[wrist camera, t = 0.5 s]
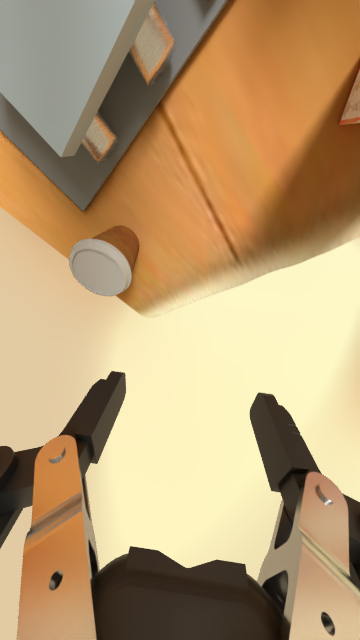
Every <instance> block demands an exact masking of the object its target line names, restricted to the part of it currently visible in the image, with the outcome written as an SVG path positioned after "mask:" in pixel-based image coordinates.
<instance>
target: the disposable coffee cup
mask: <svg viewBox="0 0 360 640" xmlns="http://www.w3.org/2000/svg"><path fill="white" fill-rule="evenodd" d="M138 251H139V241H138V238H137V236H136V235H135V234H134V232H133V231H131V230H130V229H129V228H127V227H124V226H115V227H113V228H111V229H109V230H107V231H105V232H103V233H101V234H99V235H97V236H95V237H93V238H91V239H84V240H81V241H79V242H77V243H76V244H75V245H74V246H73V247H72V250H71V253H70V258H69V265H70V269H71V271H72V273H73V275H74V277H75V278H76V279H77V280H78V282H79V283H80V284H81V285H83V286H84V287H85V288H86V289H88V290H90V291H91V292H93V293H96V294H98V295H103V296H114V295H118V294H119V293H121V292H123V291H125V290H126V289H127V288H128V287H129V285H130V283H131V278H132V275H131V272H132V269H133V266H134V263H135V260H136V257H137V254H138Z"/></svg>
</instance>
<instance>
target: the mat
mask: <svg viewBox="0 0 360 640" xmlns="http://www.w3.org/2000/svg"><path fill="white" fill-rule="evenodd" d="M156 1H157V3H158V5H159V7H160V10H161V12H162V14H163V16H164V18H165V20H166V23H167V25H168V27H169V29H170V31H171V33H172V36H173V38H174V40H175V42H176V47H175V51H174V53H173V56H172V58H171V60H170V62H169V64H168V66H167V68H166V69H165V71H164V72H163V74H162V75H161V77H160V78H159V79H158V80H157V82H156V83H155V84H154V85H152V86H151V87H148V86H147V84H146V82H145V80H144V79H143V77H142V75H141V73H140V72H139V70H138V68H137V66H136V65H135V63H134V61H133V59H132V58H131V56H130V54H129V52H128V54H127V56H126V57H125V59H124V61H123V63H122V65H121V67H120V69H119V71H118V73H117V75H116V77H115V79H114V81H113V82H112V84H111V86H110V88H109V90H108V92H107V94H106V96H105V98H104V100H103V102H102V104H101V106H100V107H99V109H98V111H99V113H100V114H101V116H102V117H103V118H104V120H105V121H106V122H107V124H108V125H109V127H110V128H111V129H112V131H113V132H114V133H115V135H116V136H117V138H118V142H117V145H116V147H115V149H114V150H113V152H112V153H111V155H110V156H109V157H108V158H107V159H106V160H105V161H104V162H103V163H101V164H98V163H97V161H96V160H95V159H94V158H93V157H92V155H91V154H90V153H89V152H88V151H87V149H86V148H85V147H84V146H83V145H82V143H81V144H80V146H79V148H78V150H77V152H76V154H75V156H68V157H60V156H59V155H58V154H57V153H56V152H55V151H54V150H53V148H52V147H51V146H50V145H49V144H48V143H47V142H46V141H45V140H44V139H43V138H42V137H41V135H40V134H39V133H38V132H37V131H36V130H35V129H34V128H33V127H32V126H31V125H30V124H29V122H28V121H27V120H26V119H25V118H24V117H23V116H22V115H21V114H20V113H19V112H18V111H17V110H16V108H15V107H14V106H13V105H12V104H11V103H10V102H9V101H8V100H7V99H6V98H5V97H4V95H3V94H2V93H1V92H0V130H1V131H2V132H3V133H4V134H5V135H6V136H7V137H8V138H9V139H10V140H11V141H12V142H13V143H14V144H15V145H16V146H17V147H18V148H19V149H20V150H21V151H22V152H23V153H24V154H25V155H26V156H27V157H28V158H29V159H30V160H31V161H32V162H33V163H34V164H35V165H36V166H37V167H38V168H39V169H40V170H41V171H42V172H43V173H44V174H45V175H46V176H47V177H48V178H49V179H50V180H51V181H52V182H53V183H54V184H55V185H56V186H57V187H58V188H59V189H60V190H61V191H62V192H64V193H65V194H66V195H67V196H68V197H69V198H70V199H71V200H72V201H73V202H74V203H75V204H76V205H77V206H78V207H79V208H80V209H81V210H82V211H85V210H86V209H87V207H88V206H89V204H90V203H91V201H92V200H93V198H94V197H95V195H96V194H97V193H98V191H99V190H100V188H101V187H102V185H103V184H104V182H105V181H106V179H107V178H108V176H109V175H110V174H111V172H112V171H113V169H114V168H115V166H116V165H117V163H118V162H119V160H120V159H121V158H122V156H123V155H124V153H125V152H126V150H127V149H128V147H129V146H130V144H131V143H132V141H133V140H134V139H135V137H136V136H137V134H138V133H139V131H140V130H141V128H142V127H143V125H144V124H145V122H146V121H147V120H148V118H149V117H150V115H151V114H152V112H153V111H154V109H155V108H156V106H157V105H158V104H159V102H160V101H161V99H162V98H163V96H164V95H165V93H166V92H167V90H168V89H169V87H170V86H171V85H172V83H173V82H174V80H175V79H176V77H177V76H178V74H179V73H180V71H181V70H182V69H183V67H184V66H185V64H186V63H187V61H188V60H189V58H190V57H191V55H192V54H193V52H194V51H195V50H196V48H197V47H198V45H199V44H200V42H201V41H202V39H203V38H204V36H205V35H206V33H207V32H208V31H209V29H210V28H211V26H212V25H213V23H214V22H215V20H216V19H217V17H218V16H219V15H220V13H221V12H222V10H223V9H224V7H225V6H226V4H227V3H228V1H229V0H210V1H209V2H208V1H207V0H156Z"/></svg>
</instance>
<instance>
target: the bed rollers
mask: <svg viewBox="0 0 360 640" xmlns="http://www.w3.org/2000/svg"><path fill="white" fill-rule="evenodd" d="M175 47H176V42H175V40H174V38H173V36H172V33H171V31H170V29H169V27H168V25H167V23H166V20H165V18H164V16H163V14H162V12H161V10H160V7H159V5H158V3H157V1H156V0H155V2H154V4H153V5H152V7H151V9H150V11H149V13H148V15H147V17H146V19H145V21H144V23H143V25H142V27H141V29H140V30H139V32H138V34H137V36H136V38H135V40H134V42H133V44H132V46H131V48H130V50H129V54H130V56H131V58H132V59H133V61H134V63H135V65H136V66H137V68H138V70H139V72H140V73H141V75H142V77H143V79H144V80H145V82H146V84H147V86H148V87H151V86H152V85H154V84H155V83H156V82H157V80H158V79H159V78H160V77H161V75H162V74H163V72H164V71H165V69H166V68H167V66H168V64H169V62H170V60H171V58H172V56H173V53H174V51H175ZM117 142H118V138H117V136H116V135H115V133H114V132H113V131H112V129H111V128H110V127H109V125H108V124H107V122H106V121H105V120H104V118H103V117H102V116H101V114H100V113H99V111H97V113H96V115H95V117H94V119H93V121H92V123H91V125H90V127H89V129H88V131H87V132H86V134H85V136H84V138H83V140H82V142H81V143H82V145H83V146H84V147H85V148H86V149H87V151H88V152H89V153H90V154H91V155H92V157H93V158H94V159H95V160H96V161H97V163H98V164H101V163H103V162H104V161H105V160H106V159H107V158H108V157H109V156H110V155H111V153H112V152H113V150H114V149H115V147H116V145H117Z"/></svg>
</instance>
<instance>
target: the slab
mask: <svg viewBox="0 0 360 640" xmlns="http://www.w3.org/2000/svg"><path fill="white" fill-rule="evenodd" d="M154 2H155V0H0V92H1V93H2V94H3V95H4V97H5V98H6V99H7V100H8V101H9V102H10V103H11V104H12V105H13V106H14V107H15V108H16V110H17V111H18V112H19V113H20V114H21V115H22V116H23V117H24V118H25V119H26V120H27V121H28V122H29V124H30V125H31V126H32V127H33V128H34V129H35V130H36V131H37V132H38V133H39V134H40V135H41V137H42V138H43V139H44V140H45V141H46V142H47V143H48V144H49V145H50V146H51V147H52V148H53V150H54V151H55V152H56V153H57V154H58V155H59V156H60V157H68V156H75V154H76V152H77V150H78V148H79V146H80V144H81V142H82V140H83V138H84V136H85V134H86V132H87V131H88V129H89V127H90V125H91V123H92V121H93V119H94V117H95V115H96V113H97V111H98V109H99V107H100V106H101V104H102V102H103V100H104V98H105V96H106V94H107V92H108V90H109V88H110V86H111V84H112V82H113V81H114V79H115V77H116V75H117V73H118V71H119V69H120V67H121V65H122V63H123V61H124V59H125V57H126V56H127V54H128V52H129V50H130V48H131V46H132V44H133V42H134V40H135V38H136V36H137V34H138V32H139V30H140V29H141V27H142V25H143V23H144V21H145V19H146V17H147V15H148V13H149V11H150V9H151V7H152V5H153V4H154Z"/></svg>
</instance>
